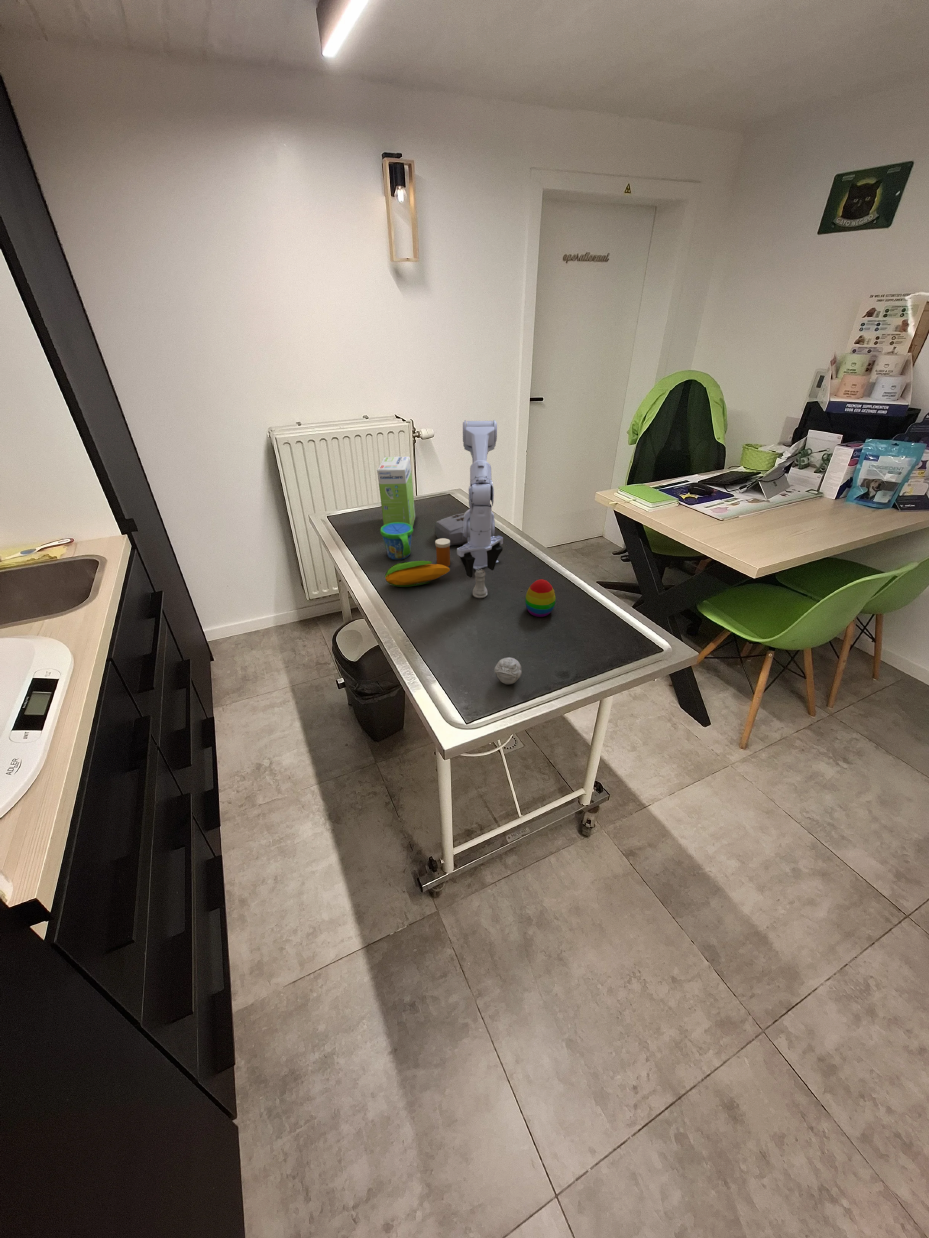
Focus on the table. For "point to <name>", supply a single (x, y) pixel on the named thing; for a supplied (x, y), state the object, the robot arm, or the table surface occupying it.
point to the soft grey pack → (451, 529)
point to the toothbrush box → (396, 490)
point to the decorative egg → (540, 598)
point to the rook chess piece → (480, 585)
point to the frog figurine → (508, 670)
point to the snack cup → (397, 539)
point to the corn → (414, 573)
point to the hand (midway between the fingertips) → (480, 572)
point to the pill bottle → (443, 551)
